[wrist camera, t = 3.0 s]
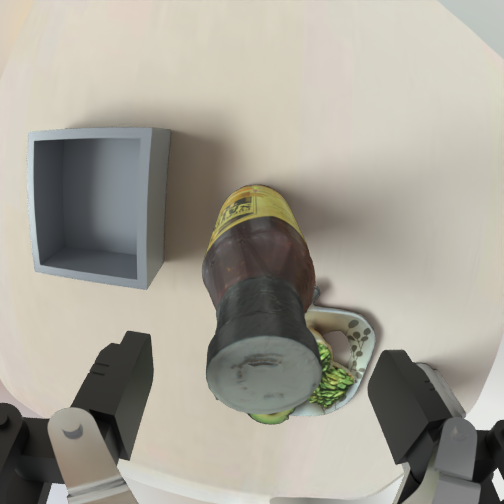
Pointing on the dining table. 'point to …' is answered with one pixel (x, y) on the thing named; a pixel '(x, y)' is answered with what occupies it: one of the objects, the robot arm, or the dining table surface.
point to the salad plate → (332, 362)
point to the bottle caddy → (98, 203)
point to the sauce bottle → (260, 305)
